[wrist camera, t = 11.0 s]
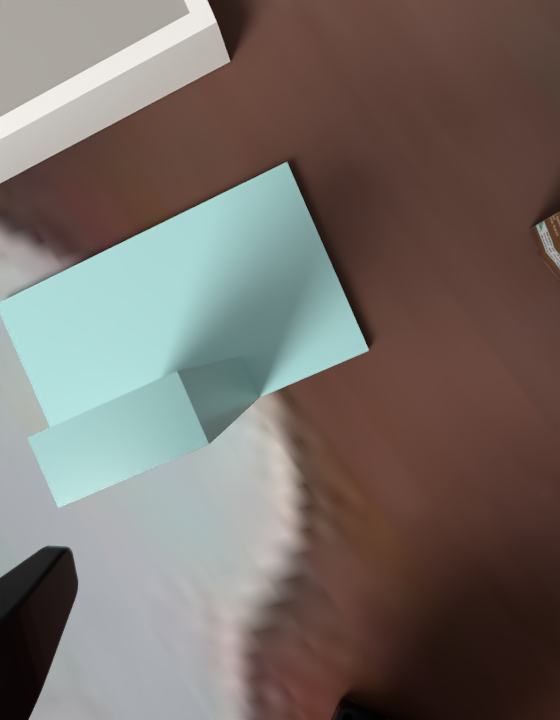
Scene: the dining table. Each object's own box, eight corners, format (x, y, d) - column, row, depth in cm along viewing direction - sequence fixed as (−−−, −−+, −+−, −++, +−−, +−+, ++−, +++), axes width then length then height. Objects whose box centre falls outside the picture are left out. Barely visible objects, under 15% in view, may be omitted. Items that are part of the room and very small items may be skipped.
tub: (230, 61, 20) (216, 21, 17) (-36, 202, 21) (-83, 184, 19) (156, -107, 20) (131, -171, 17) (-105, 46, 21) (-163, 7, 19)
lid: (367, 349, 20) (404, 361, 11) (81, 472, 22) (-105, 576, 12) (288, 168, 20) (256, 19, 11) (7, 305, 22) (-237, 280, 12)
